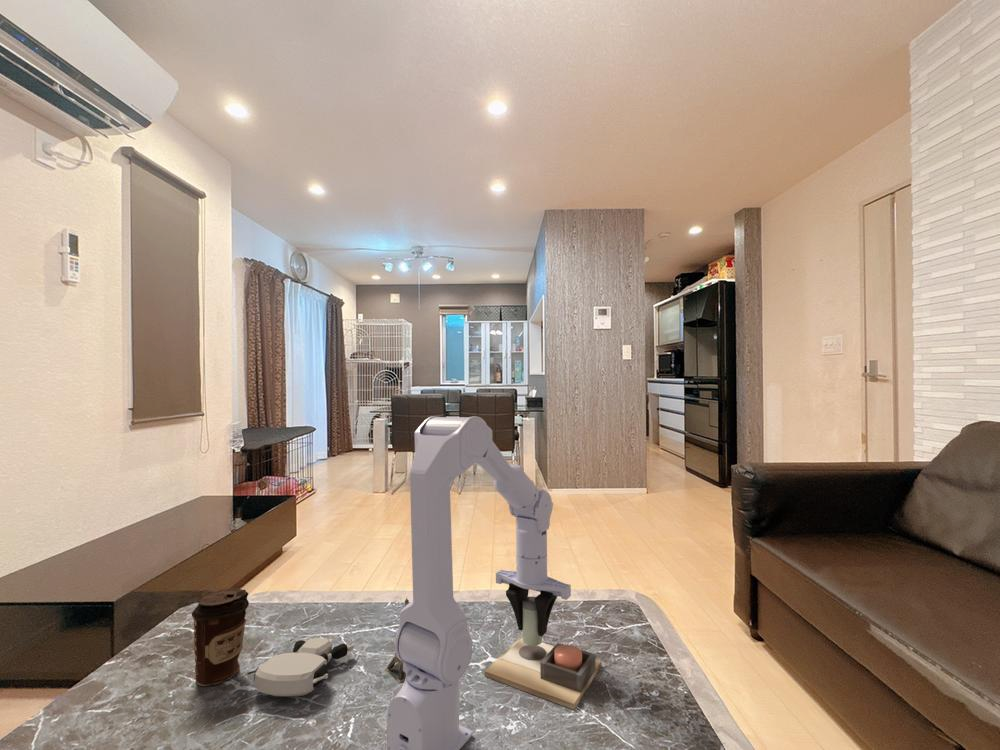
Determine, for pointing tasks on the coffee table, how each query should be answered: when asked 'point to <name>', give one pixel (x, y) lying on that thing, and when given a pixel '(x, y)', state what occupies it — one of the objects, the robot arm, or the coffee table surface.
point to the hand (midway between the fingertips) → (532, 630)
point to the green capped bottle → (530, 622)
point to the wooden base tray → (543, 673)
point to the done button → (568, 657)
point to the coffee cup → (219, 635)
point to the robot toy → (298, 668)
